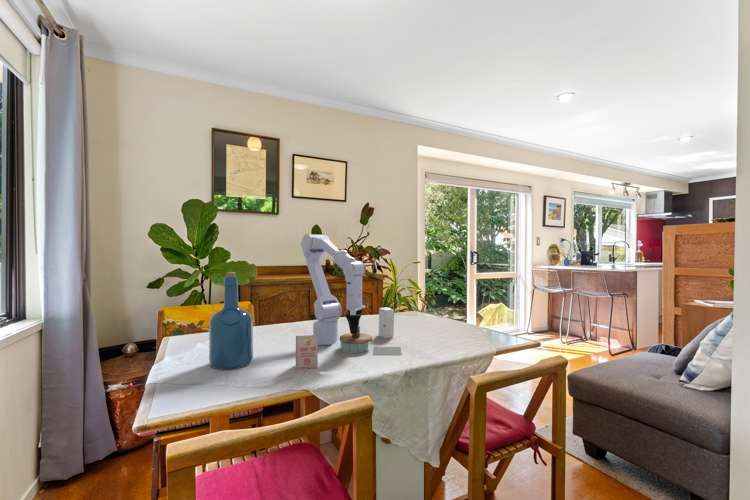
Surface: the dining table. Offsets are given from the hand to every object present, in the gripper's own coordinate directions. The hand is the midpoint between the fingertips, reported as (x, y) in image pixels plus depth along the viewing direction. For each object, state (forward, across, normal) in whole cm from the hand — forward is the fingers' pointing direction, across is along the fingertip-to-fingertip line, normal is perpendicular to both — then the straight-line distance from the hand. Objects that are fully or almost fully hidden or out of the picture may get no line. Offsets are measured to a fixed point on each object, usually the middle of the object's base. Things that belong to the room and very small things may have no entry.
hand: (354, 330), depth 135 cm
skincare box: (+7, +18, -12) cm, 23 cm away
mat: (+7, -3, -12) cm, 14 cm away
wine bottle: (+7, -16, +39) cm, 43 cm away
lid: (+3, 0, -1) cm, 3 cm away
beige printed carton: (+7, -18, +14) cm, 24 cm away
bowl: (+7, 0, 0) cm, 7 cm away
